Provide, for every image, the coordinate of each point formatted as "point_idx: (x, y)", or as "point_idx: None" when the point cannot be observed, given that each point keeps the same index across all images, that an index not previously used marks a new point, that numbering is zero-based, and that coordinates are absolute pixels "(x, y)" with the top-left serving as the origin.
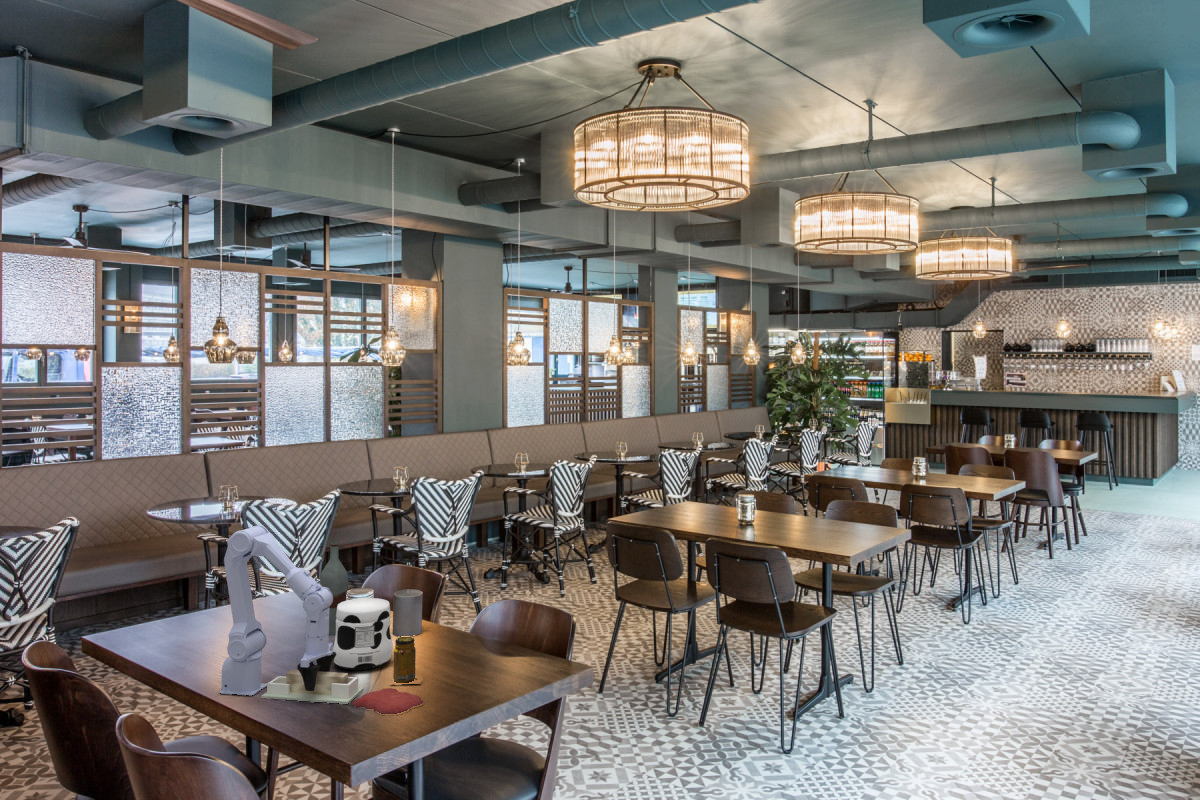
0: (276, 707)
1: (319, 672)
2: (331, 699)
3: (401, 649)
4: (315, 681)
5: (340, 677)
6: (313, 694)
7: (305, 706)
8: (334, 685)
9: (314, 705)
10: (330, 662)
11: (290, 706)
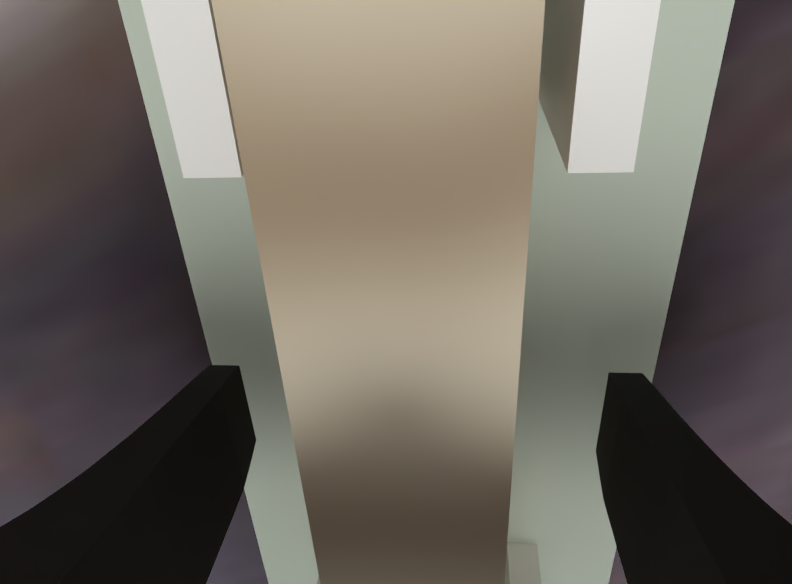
0: (786, 519)
1: (356, 533)
2: (678, 52)
3: None
4: (668, 453)
5: (540, 44)
6: None
7: (786, 303)
8: (641, 98)
9: (760, 221)
10: (80, 561)
11: (770, 432)
